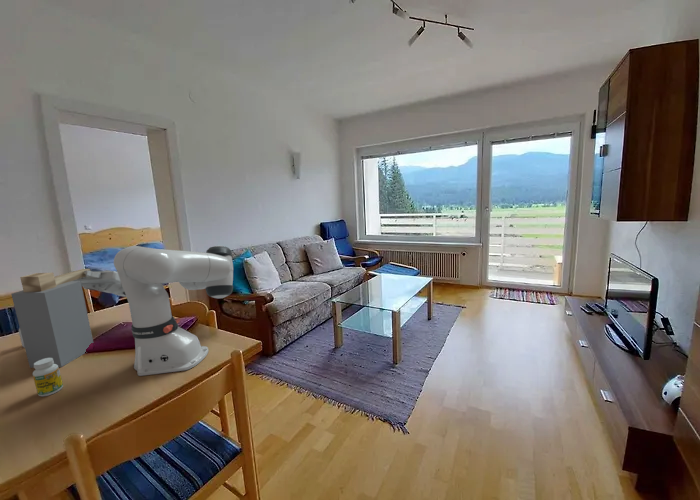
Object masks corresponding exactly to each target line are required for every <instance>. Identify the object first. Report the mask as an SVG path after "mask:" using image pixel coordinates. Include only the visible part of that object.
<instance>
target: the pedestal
mask: <svg viewBox="0 0 700 500" xmlns="http://www.w3.org/2000/svg"><path fill="white" fill-rule="evenodd" d="M11 298H12V302H13V306H14V309H15V314H16V318H17V321H18V326H19V328H20V330H21V334H22V338H23V342H24V346H25V347H24V348H25V349H24V350H25V353H26V354H25V355H26V358H27V362H28V365H29V368H30V369H31V368H33V369H35V368H34V363H35V362H37V361H39V360H42V359H45V358H53V361H54V363H53V364H57V365H58V367H59V368H63V367H64V366H66V365H67V364H69V363H71V362H73V361H74V360H76V359H77V358H79V357H81V356H83V355H84V354H86V353H87V352H86V349H87V348H88V347H89V345H90V344H91V343H94V339H93V335H92V334H93V333H92V330H91V325H90V321H89V316H88V309H87V305H86V299H85V295H84V291H83V287H82V285H81V281H70V282H67V283H63V284H60V285H57V286H56V287H54V288H51V289H48V290H45V291H39V292H24V291H23V290H22V289H21V290H19V291H16V292H12V293H11ZM85 352H86V353H85Z"/></svg>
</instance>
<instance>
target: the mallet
mask: <svg viewBox="0 0 700 500" xmlns="http://www.w3.org/2000/svg"><path fill="white" fill-rule="evenodd" d="M72 271H73V272H71V271H70V272H67V273H63V274H59V275H56V276H55V274H54V272H34V273H31V274H28V275H22V276H20V277H19V279H20V282H21V287H22V289H23V291H24V292H39V291H45V290H48V289H51V288H54V287H56V286H57V285H60V284H63V283H67V282H70V281H73V280H76V279H79V278H83V277H86V275H84V271H91V269H90V268H80V269H78V270H72Z"/></svg>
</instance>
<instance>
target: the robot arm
mask: <svg viewBox="0 0 700 500" xmlns="http://www.w3.org/2000/svg"><path fill="white" fill-rule="evenodd" d="M232 253H233V252H232V250H231V249H230V248H229V247H227V246H224V245H214V246H210V247H209V248H207V250H206V251H203V252H201V251H191V250H178V249H177V250H176V249H175V250H174V249H162V248H155V247H154V248H152V247H146V246H145V247H144V246H140V245H131V246H128V247H125V248H123V249H121V250H119V251H118V252H117V253H116V254H115V256H114V258H113V266H114V268H115V270H108V269H107V270H103V271H92V270H90V271H84V275H86V277H83V278H79V279H76V280H73V281H81V285H82V288H83V289H85V290H91V291H98V292H103V293H107V294H113V295H115V296H119V297H126V300H127V302H128V303H127V304H128V306H129V312H130V318H131V323H132V324H131V334H132V337H133V338H134V345H135V346H134V348H135V354H134V355H135V356H134V364H133V368H134V370H135V371H137V376H139V377H142V376H149V375H150V376H151V375H158V374H166V373H172V372H173V373H174V372H175V373H176V372H180V371H181V372H183V371H188V370H190V369H192V368H193V367H195V366H197V365H198V364H200V363H201V362H202V361H203V360H204V359H205V358H206V357H207V355H208V354H209V347H208V346H205V345H201V342H200V340H199V338H198V336H197V335H195V334H194V333H191V332H189V331H188V330H186V329H184V328H182V327H180V326H179V323H181V320H180V319H181V318H178V319H177V320H176V319H175V317H174V316H173V315H172V309H171V303H170V302H171V301H170V296H169V293H168V292H167V290H166V289H165V287H164V285H163V284H171V283H179V285H180V286H181V287H182V288H184V289H186V290H190V291H197V290H204V289H205V292H206V295H208V296H209V298H214V299H223V298H226V297H228V296H230V295H231V294H232V293H233V290H234V285H233V283H234V282H233V281H234V263H233V262H234V261H233V254H232ZM73 271H74V270H72V271H70V272H73Z"/></svg>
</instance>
